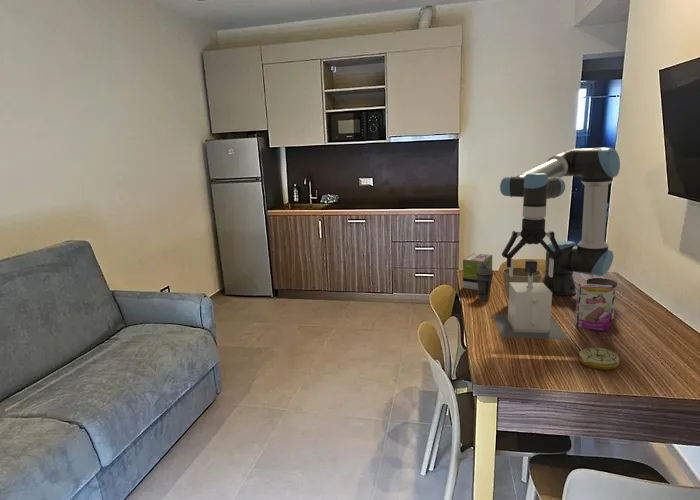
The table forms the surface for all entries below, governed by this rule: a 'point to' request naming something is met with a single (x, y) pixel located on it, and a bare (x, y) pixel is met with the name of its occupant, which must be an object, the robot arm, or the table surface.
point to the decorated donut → (599, 358)
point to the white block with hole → (529, 307)
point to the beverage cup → (484, 281)
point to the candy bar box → (594, 306)
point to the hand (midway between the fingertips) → (530, 276)
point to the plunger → (530, 270)
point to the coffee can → (604, 282)
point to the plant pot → (519, 277)
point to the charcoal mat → (509, 333)
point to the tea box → (474, 269)
